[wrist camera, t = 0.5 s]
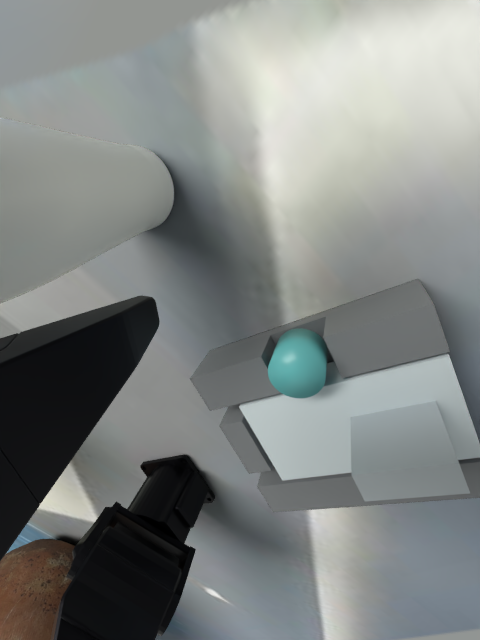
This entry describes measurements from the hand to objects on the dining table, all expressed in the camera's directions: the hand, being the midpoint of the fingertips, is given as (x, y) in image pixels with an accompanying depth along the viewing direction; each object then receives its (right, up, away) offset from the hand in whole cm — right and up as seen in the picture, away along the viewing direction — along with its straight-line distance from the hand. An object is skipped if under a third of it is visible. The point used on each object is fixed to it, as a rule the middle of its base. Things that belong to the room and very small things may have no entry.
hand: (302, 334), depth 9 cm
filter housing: (+6, -6, +17) cm, 19 cm away
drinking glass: (-8, +10, +14) cm, 19 cm away
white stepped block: (+6, -6, +15) cm, 17 cm away
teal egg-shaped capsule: (+2, -2, +13) cm, 13 cm away
